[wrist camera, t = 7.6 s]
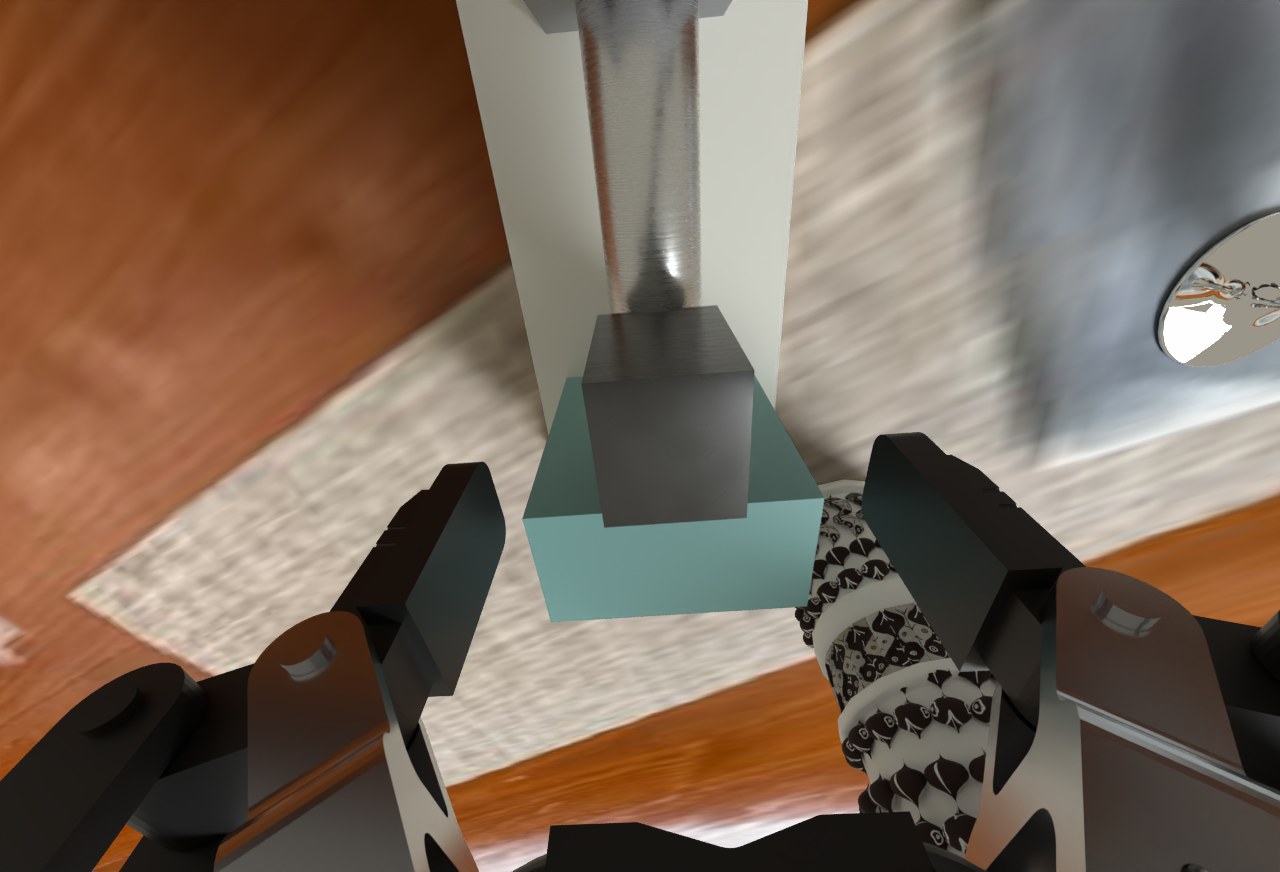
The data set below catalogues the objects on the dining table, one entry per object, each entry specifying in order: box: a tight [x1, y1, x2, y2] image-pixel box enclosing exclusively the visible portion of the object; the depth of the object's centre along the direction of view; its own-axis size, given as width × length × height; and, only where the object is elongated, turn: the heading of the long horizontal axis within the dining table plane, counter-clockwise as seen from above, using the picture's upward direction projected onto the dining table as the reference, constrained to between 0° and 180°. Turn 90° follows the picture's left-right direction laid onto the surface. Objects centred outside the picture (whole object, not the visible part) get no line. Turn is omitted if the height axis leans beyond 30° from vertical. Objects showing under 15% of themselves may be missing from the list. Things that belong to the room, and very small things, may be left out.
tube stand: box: [456, 0, 808, 435], centre depth 14 cm, size 32×12×11 cm, turn 5°
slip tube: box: [575, 0, 754, 528], centre depth 12 cm, size 21×4×8 cm, turn 5°
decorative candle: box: [795, 479, 998, 859], centre depth 20 cm, size 9×9×25 cm
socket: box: [523, 375, 824, 622], centre depth 19 cm, size 5×9×10 cm, turn 95°
